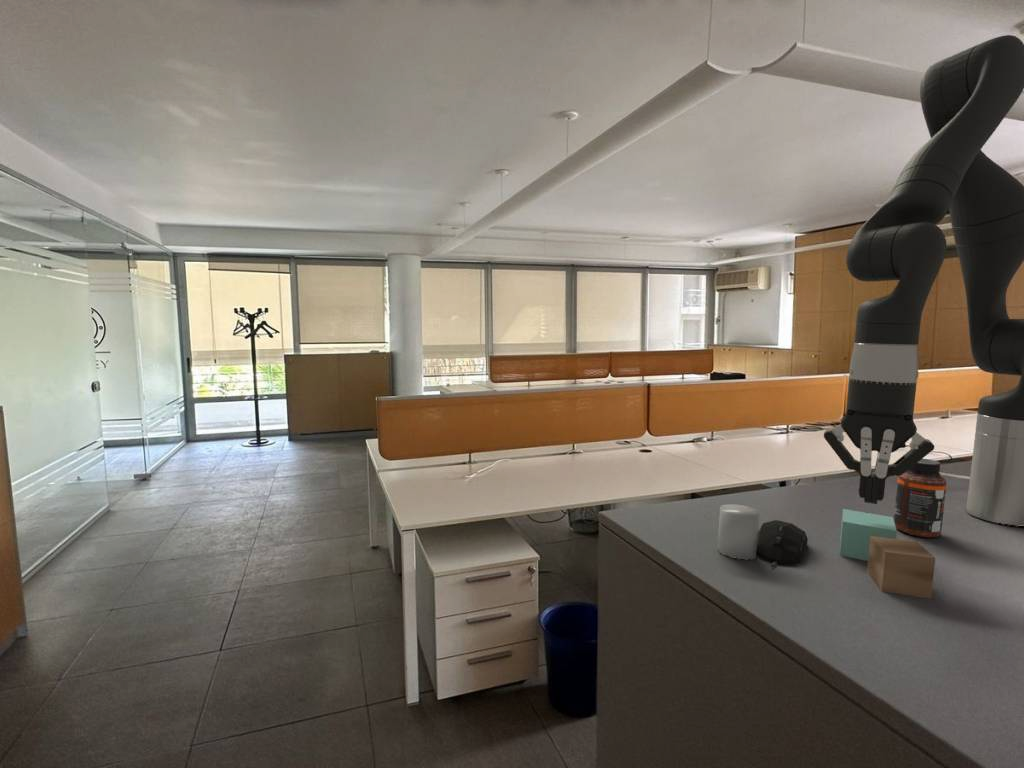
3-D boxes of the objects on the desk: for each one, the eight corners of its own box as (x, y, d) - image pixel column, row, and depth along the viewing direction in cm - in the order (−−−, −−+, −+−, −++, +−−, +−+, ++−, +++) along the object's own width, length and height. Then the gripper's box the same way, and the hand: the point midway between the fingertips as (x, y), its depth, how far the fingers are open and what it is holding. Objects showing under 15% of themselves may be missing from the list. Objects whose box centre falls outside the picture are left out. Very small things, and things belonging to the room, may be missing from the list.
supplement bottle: (949, 541, 79) (958, 467, 77) (904, 537, 80) (912, 464, 78) (927, 526, 84) (934, 457, 83) (885, 523, 86) (892, 454, 84)
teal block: (840, 541, 78) (842, 508, 78) (889, 551, 75) (892, 517, 74) (839, 556, 73) (842, 521, 72) (893, 567, 70) (896, 530, 69)
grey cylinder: (721, 541, 77) (724, 501, 76) (758, 550, 74) (761, 508, 73) (713, 553, 73) (716, 511, 72) (753, 563, 70) (756, 519, 69)
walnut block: (866, 573, 68) (870, 536, 67) (912, 579, 66) (916, 541, 66) (881, 591, 63) (885, 551, 63) (930, 598, 62) (935, 558, 61)
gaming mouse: (745, 568, 69) (747, 539, 69) (762, 532, 82) (763, 507, 81) (799, 582, 66) (801, 551, 65) (808, 542, 78) (810, 516, 78)
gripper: (940, 378, 71) (926, 503, 73) (826, 372, 78) (816, 486, 80) (949, 383, 65) (934, 520, 66) (824, 376, 72) (813, 500, 73)
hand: (869, 501), depth 73 cm, fingers closed
